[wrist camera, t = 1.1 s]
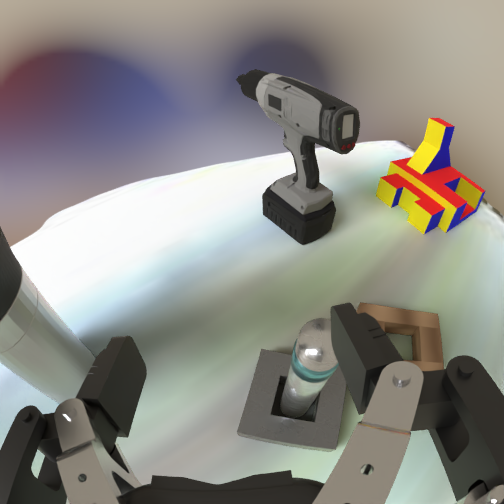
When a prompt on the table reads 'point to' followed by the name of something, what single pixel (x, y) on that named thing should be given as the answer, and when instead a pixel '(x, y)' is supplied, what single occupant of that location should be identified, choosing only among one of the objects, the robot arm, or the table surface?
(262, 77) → the cordless drill
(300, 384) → the clear test tube
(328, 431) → the grey flat square frame
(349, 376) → the robot arm
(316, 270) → the table surface
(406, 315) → the rack block
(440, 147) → the building blocks toy
